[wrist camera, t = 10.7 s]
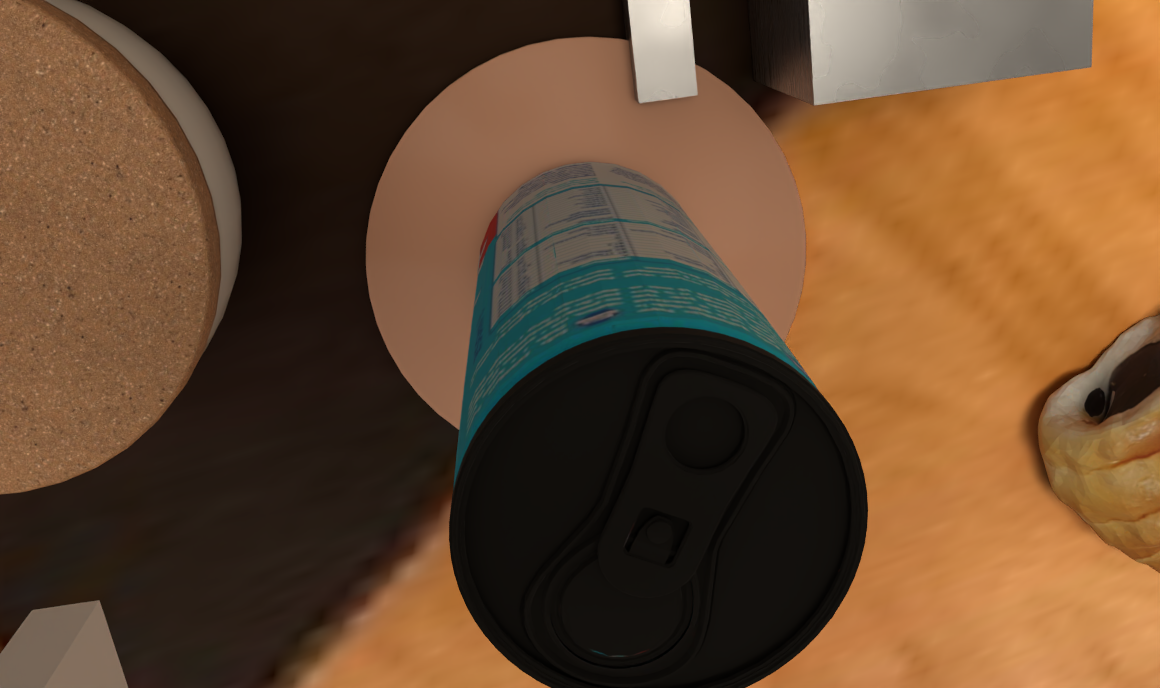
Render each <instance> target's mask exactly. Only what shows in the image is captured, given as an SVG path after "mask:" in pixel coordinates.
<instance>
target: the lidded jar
mask: <svg viewBox="0 0 1160 688" xmlns="http://www.w3.org/2000/svg"><path fill="white" fill-rule="evenodd" d="M241 244H242V221H241V199H240V194H239V188H238V183H237V178H236V172H235V168H234V166H233V163H232V160H231V157H230V154H229V151H228V149H227V146H226V143H225V140H224V138H223V136H222V134H221V132H220V130H219V128H218V126H217V124H216V123H215V121H214V119H213V117H212V115H211V113H210V111H209V109H208V108H207V106H206V105H205V104H204V102H203V101H202V99H201V98H200V97H199V95H198V94H197V93H196V91H195V90H194V89H193V87H192V86H191V84H190V83H189V82H188V80H187V79H186V78H185V77H184V76H183V75H182V74H181V73H180V72H179V71H178V70H177V69H176V68H175V67H174V66H173V65H172V64H171V63H170V62H169V61H168V60H167V59H166V58H165V57H164V56H163V55H162V54H161V53H160V52H159V51H158V50H156V49H155V48H154V47H152V46H151V45H150V44H148V43H147V42H146V41H145V40H143V39H142V38H141V37H139V36H138V35H137V34H136V33H134V32H133V31H131V30H130V29H129V28H127V27H126V26H124V25H122V24H121V23H119V22H117V21H115V20H114V19H112V18H110V17H108V16H107V15H105V14H103V13H101V12H100V11H98V10H96V9H94V8H93V7H91V6H89V5H87V4H84V3H81V2H79V1H76V0H0V494H9V493H19V492H26V491H30V490H34V489H38V488H41V487H45V486H49V485H53V484H57V483H61V482H64V481H66V480H68V479H71V478H73V477H76V476H78V475H80V474H83V473H85V472H87V471H90V470H92V469H94V468H97V467H98V466H100V465H102V464H103V463H105V462H106V461H108V460H109V459H111V458H113V457H114V456H116V455H117V454H119V453H121V452H122V451H124V450H125V449H127V448H128V447H129V446H131V445H132V444H133V443H134V442H135V441H136V440H137V439H138V438H139V437H141V436H142V435H143V434H144V433H145V432H146V431H147V430H148V429H149V428H151V427H152V426H153V425H154V424H155V423H156V422H157V421H158V420H159V419H160V417H161V416H162V415H163V413H164V412H165V411H166V410H167V408H168V407H169V406H170V405H171V403H172V402H173V401H174V399H175V398H176V397H177V396H178V394H179V393H180V392H181V390H182V389H183V388H184V386H185V385H186V384H187V382H188V380H189V378H190V376H191V374H192V372H193V370H194V369H195V367H196V365H197V363H198V361H199V359H200V357H201V356H202V354H203V353H204V351H205V350H206V348H207V347H208V345H209V343H210V341H211V339H212V337H213V335H214V333H215V331H216V330H217V328H218V326H219V324H220V322H221V320H222V318H223V315H224V313H225V310H226V307H227V305H228V301H229V298H230V295H231V292H232V289H233V286H234V283H235V280H236V277H237V272H238V265H239V258H240V251H241Z"/></svg>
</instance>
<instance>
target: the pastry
mask: <svg viewBox="0 0 1160 688" xmlns="http://www.w3.org/2000/svg"><path fill="white" fill-rule="evenodd" d="M1038 439H1039V448H1040V452H1041V455H1042V458H1043V461H1044V464H1045V468H1046V472H1047V475H1048V478H1049V482H1050V485H1051V487H1052V489H1053V491H1054V492H1055V494H1056V495H1057V497H1058V498H1059V499H1060V500H1061V501H1062V502H1064V503H1065V504H1067V505H1068V506H1069V507H1070V508H1072V509H1073V510H1075V511H1076V512H1077V513H1078V514H1079V516H1080V517H1081V518H1082V519H1083V520H1084V521H1085V522H1087V523H1088V524H1089V525H1090V526H1091V527H1092V528H1093V529H1094V531H1095V532H1096V533H1097V534H1098V535H1099V537H1100V538H1101V539H1102V540H1103V541H1104V542H1105V543H1107V544H1108V545H1110V546H1113V547H1116V548H1118V549H1119V550H1121V551H1122V552H1123V553H1125V554H1126V555H1127V556H1129V557H1130V558H1132V559H1134V560H1135V561H1137V562H1139V563H1143V564H1146V565H1149V566H1150V567H1152V568H1153V569H1154V570H1156V571H1158V572H1159V573H1160V314H1159V315H1158V316H1155V317H1147V318H1144V319H1143V320H1141V321H1140V322H1138V323H1137V324H1135V325H1134V326H1133V327H1131V328H1129V329H1128V330H1126V331H1125V332H1124V333H1122V334H1121V335H1120V336H1119V338H1118V339H1117V340H1116V341H1115V342H1114V343H1113V344H1112V345H1111V346H1110V347H1109V348H1108V349H1107V350H1106V351H1105V352H1104V353H1103V354H1102V356H1101V357H1100V358H1099V359H1098V361H1097V362H1096V363H1095V365H1094V366H1093V367H1092V368H1091V369H1090V370H1088V371H1086V372H1084V373H1082V374H1079V375H1077V376H1075V377H1073V378H1072V379H1071V380H1069V381H1068V382H1066V383H1065V384H1064V385H1062V386H1061V387H1060V388H1059V389H1057V390H1056V391H1055V392H1054V393H1052V394H1051V395H1050V396H1049V398H1048V399H1047V401H1046V403H1045V405H1044V408H1043V410H1042V413H1041V415H1040V418H1039V422H1038Z"/></svg>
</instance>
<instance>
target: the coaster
mask: <svg viewBox="0 0 1160 688" xmlns="http://www.w3.org/2000/svg"><path fill="white" fill-rule="evenodd" d="M695 70H696V81H697V92H698V95H696V96H689V97H682V98H674V99H667V100H660V101H653V102H645V103H638V102H637V101H636V100H635V96H634V86H633V77H632V68H631V59H630V50H629V41H627V40H625V39H620V38H608V37H594V36H583V37H568V38H557V39H552V40H547V41H542V42H537V43H532V44H528V45H525V46H522V47H519V48H517V49H514V50H511V51H508V52H505V53H502V54H500V55H498V56H496V57H494V58H492V59H490V60H488V61H486V62H484V63H482V64H480V65H478V66H476V67H474V68H473V69H471V70H470V71H468V72H467V73H466V74H464V75H463V76H461V77H460V78H458V79H457V80H456V81H454V82H453V83H451V84H450V85H448V86H447V87H446V88H445V89H444V90H443V91H442V92H441V93H440V94H439V95H438V96H437V97H435V98H434V99H433V100H432V101H431V102H430V103H429V104H428V105H427V106H426V107H425V108H424V110H423V111H422V112H421V113H420V114H419V116H418V117H417V118H416V119H415V120H414V122H413V123H412V124H411V125H410V127H409V128H408V129H407V131H406V132H405V134H404V135H403V137H402V139H401V140H400V142H399V143H398V145H397V147H396V148H395V150H394V151H393V153H392V155H391V156H390V158H389V161H388V163H387V165H386V167H385V170H384V172H383V174H382V177H381V179H380V181H379V183H378V187H377V190H376V194H375V197H374V201H373V204H372V207H371V211H370V217H369V224H368V231H367V238H366V273H367V281H368V288H369V296H370V300H371V304H372V307H373V311H374V315H375V319H376V322H377V325H378V328H379V330H380V332H381V335H382V337H383V339H384V342H385V344H386V347H387V349H388V351H389V352H390V354H391V356H392V358H393V359H394V361H395V363H396V364H397V366H398V368H399V369H400V371H401V373H402V374H403V375H404V377H405V378H406V379H407V381H408V382H409V383H410V384H411V386H412V387H413V388H414V390H415V391H416V392H417V393H418V395H419V396H420V397H421V398H422V399H423V400H424V401H425V402H426V403H427V404H428V405H429V406H430V407H432V408H433V409H434V410H435V411H436V412H437V413H438V414H439V415H440V416H441V417H443V418H444V419H445V420H447V421H448V422H449V423H451V424H452V425H453V426H455V427H456V428H457V429H459V428H460V419H461V410H462V400H463V391H464V382H465V374H466V366H467V358H468V350H469V342H470V333H471V325H472V317H473V309H474V301H475V293H476V285H477V277H478V273H477V270H478V262H479V255H480V248H481V245H482V242H483V239H484V237H485V234H486V232H487V229H488V226H489V224H490V222H491V220H492V219H493V217H494V216H495V214H496V213H497V211H498V210H499V208H500V207H501V205H502V204H503V202H504V201H505V200H506V199H507V198H509V197H510V196H511V195H512V194H513V193H514V192H515V191H516V190H517V189H518V188H519V187H520V186H521V185H523V184H524V183H526V182H528V181H529V180H531V179H533V178H534V177H536V176H537V175H539V174H541V173H542V172H545V171H548V170H551V169H554V168H557V167H560V166H563V165H566V164H574V163H582V162H600V163H610V164H617V165H620V166H623V167H626V168H629V169H632V170H635V171H638V172H640V173H642V174H643V175H645V176H647V177H648V178H650V179H651V180H653V181H655V182H656V183H658V184H660V185H661V186H662V187H663V188H664V189H665V190H666V191H667V192H668V193H669V194H670V195H671V196H672V197H673V198H675V199H676V200H677V201H678V202H679V204H680V206H681V207H682V209H683V210H684V212H685V213H686V214H687V216H688V217H689V218H690V219H691V221H692V222H693V223H694V225H695V226H696V227H697V229H698V230H699V231H700V232H701V234H702V235H703V236H704V238H705V239H706V240H707V241H708V243H709V244H710V245H711V247H712V248H713V249H714V251H715V252H716V253H717V254H718V256H719V257H720V258H721V260H722V261H723V262H724V263H725V265H726V266H727V267H728V269H729V270H730V271H731V273H732V274H733V275H734V276H735V278H736V279H737V280H738V282H739V283H740V284H741V285H742V287H743V288H744V289H745V291H746V292H747V293H748V295H749V296H750V297H751V299H752V300H753V301H754V303H755V304H756V305H757V307H758V308H759V309H760V311H761V312H762V313H763V315H764V316H765V318H766V319H767V320H768V322H769V323H770V324H771V326H772V327H773V328H774V330H775V331H776V332H777V334H778V335H779V336H780V338H781V339H782V340H783V342H785V339H786V337H787V335H788V332H789V330H790V328H791V325H792V323H793V320H794V318H795V315H796V311H797V307H798V304H799V300H800V296H801V293H802V287H803V280H804V273H805V266H806V232H805V224H804V216H803V209H802V205H801V201H800V197H799V193H798V190H797V186H796V182H795V179H794V177H793V175H792V172H791V170H790V167H789V165H788V163H787V160H786V158H785V156H784V154H783V152H782V150H781V149H780V147H779V145H778V144H777V142H776V140H775V138H774V137H773V135H772V133H771V132H770V130H769V129H768V127H767V126H766V125H765V124H764V122H763V121H762V120H761V119H760V117H759V116H758V115H757V114H756V112H755V111H754V110H753V109H752V107H751V106H750V105H748V104H747V103H746V102H745V101H744V100H743V99H742V98H741V97H740V96H739V95H738V94H737V93H736V92H735V91H734V90H733V89H732V88H730V87H729V86H728V85H726V84H725V83H724V82H722V81H721V80H719V79H718V78H717V77H715V76H714V75H712V74H711V73H710V72H708V71H707V70H705V69H703V68H701V67H700V66H698V65H696V64H695Z"/></svg>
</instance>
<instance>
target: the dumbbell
mask: <svg viewBox="0 0 1160 688" xmlns="http://www.w3.org/2000/svg"><path fill="white" fill-rule="evenodd" d="M622 7H623V16H624V25H625V34H626V40H627V41H629V50H630V59H631V68H632V77H633V86H634V96H635V100H636V101H637V102H638V103H645V102H653V101H660V100H667V99H674V98H682V97H689V96H696V95H698V92H697V81H696V70H695V59H694V48H693V37H692V26H691V15H690V3H689V0H622ZM748 11H749V25H750V38H751V52H752V66H753V79H754V81H756V82H758V83H761V84H763V85H766V86H768V87H770V88H773V89H775V90H778V91H780V92H783V93H785V94H787V95H790V96H792V97H795V98H797V99H800V100H802V101H805V102H807V103H809V104H812V105H821V104H828V103H836V102H843V101H850V100H857V99H865V98H872V97H879V96H886V95H893V94H901V93H908V92H915V91H922V90H930V89H937V88H944V87H951V86H959V85H966V84H973V83H980V82H988V81H995V80H1002V79H1009V78H1016V77H1024V76H1031V75H1038V74H1045V73H1053V72H1060V71H1067V70H1074V69H1082V68H1089V67H1091V65H1092V29H1093V0H748Z"/></svg>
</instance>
